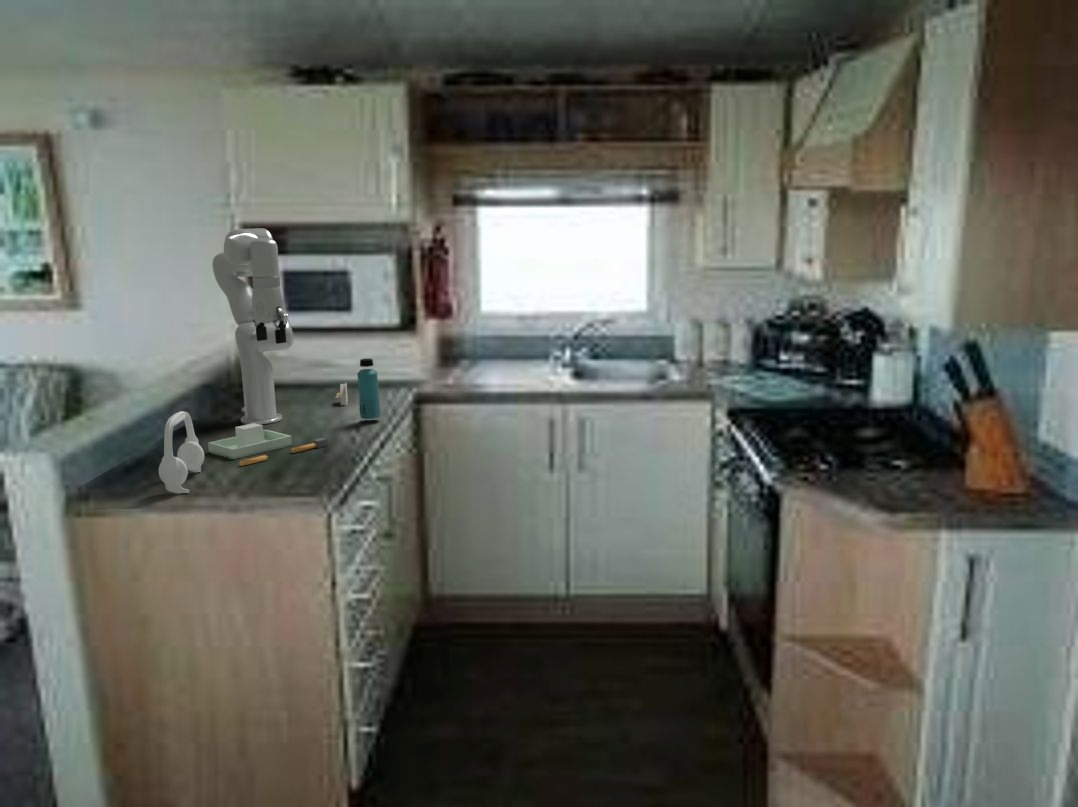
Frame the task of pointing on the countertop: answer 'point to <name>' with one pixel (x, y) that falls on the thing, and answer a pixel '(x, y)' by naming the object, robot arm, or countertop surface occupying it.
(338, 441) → the countertop surface
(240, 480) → the countertop surface
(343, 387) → the architectural model
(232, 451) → the tray
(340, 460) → the countertop surface
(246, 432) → the pale grey cuboid
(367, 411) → the beverage bottle
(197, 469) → the headset
